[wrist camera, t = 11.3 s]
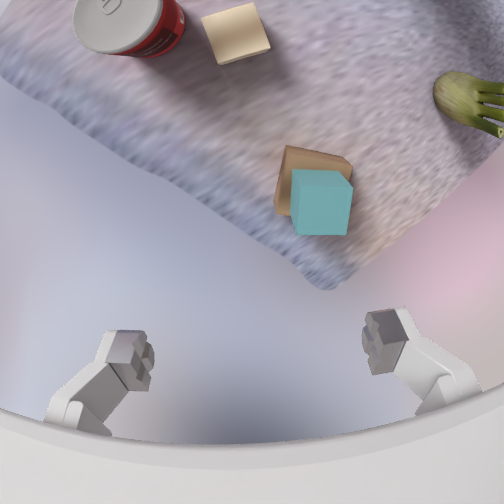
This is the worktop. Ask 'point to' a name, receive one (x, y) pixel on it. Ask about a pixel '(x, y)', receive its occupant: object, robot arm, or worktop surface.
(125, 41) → the canned food
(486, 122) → the fennel bulb
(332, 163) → the walnut slab
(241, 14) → the birch cube
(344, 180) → the teal cube
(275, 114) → the worktop surface
